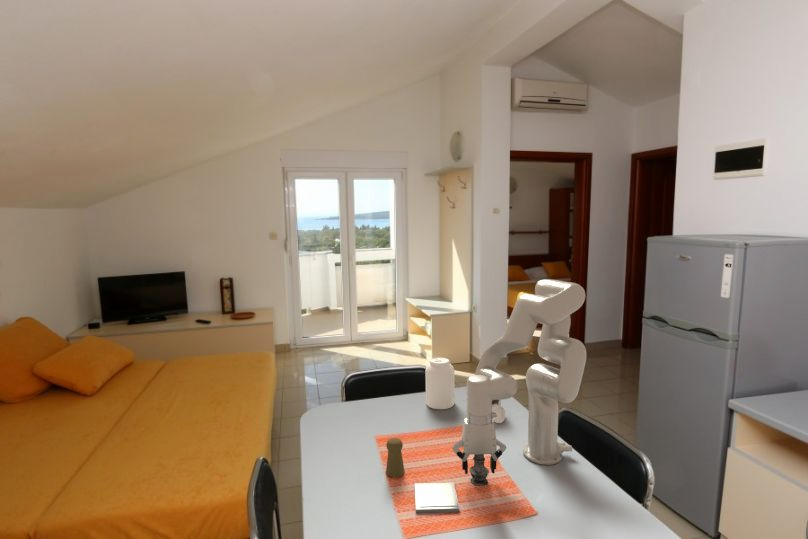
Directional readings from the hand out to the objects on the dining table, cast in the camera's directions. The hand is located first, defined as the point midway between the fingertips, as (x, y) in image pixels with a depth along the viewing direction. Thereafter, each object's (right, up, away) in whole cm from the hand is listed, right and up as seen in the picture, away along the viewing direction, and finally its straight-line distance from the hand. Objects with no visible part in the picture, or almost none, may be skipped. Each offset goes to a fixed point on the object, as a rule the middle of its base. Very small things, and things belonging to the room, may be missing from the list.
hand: (479, 470), depth 138 cm
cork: (-26, -3, +6) cm, 27 cm away
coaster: (-14, -5, -8) cm, 16 cm away
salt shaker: (0, -4, 0) cm, 4 cm away
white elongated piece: (-7, +3, +57) cm, 58 cm away
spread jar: (+13, +2, +43) cm, 45 cm away
